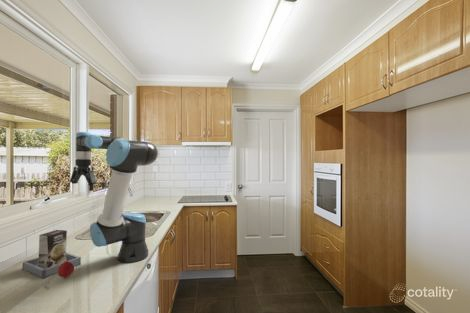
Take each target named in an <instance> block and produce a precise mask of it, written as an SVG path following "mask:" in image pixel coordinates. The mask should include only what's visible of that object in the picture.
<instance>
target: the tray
mask: <svg viewBox="0 0 470 313" xmlns="http://www.w3.org/2000/svg"><path fill="white" fill-rule="evenodd" d="M38 258H39V256H37V257H35V258H31V259H28V260H26V261H25V260H24V261H22V271H24V272H27V273H29V274H31V275H34V276H36V277H38V278H40V279H42V280H45V279H47V278H50V277H52V276H54V275H58V269H59V267H60V265H61V264H63V263H61V264H58V265H55V266H52V267H49V268H47V269H43V268H40V267H38ZM66 260H67V261H68V262H70V263H72V264H73V266H74V268H75V267H78V266H80V265H81V262H82V261H81V260H82V257H81V256H78V255H75V254H71V253H69V252H66Z"/></svg>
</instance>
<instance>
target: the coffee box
mask: <svg viewBox="0 0 470 313" xmlns="http://www.w3.org/2000/svg"><path fill="white" fill-rule="evenodd" d="M67 233H68V230H64V229H61V230H60V229H55V230H52V231H48V232H45V233H41V234H39V238H38V239H39V241H38V257H39V258H38V257H37V258H38V267H40V268H43V269H47V268H49V267H52V266H55V265H58V264H61V263H64V261H65V260H66V253H67V240H68V239H67V238H68V236H67V235H68V234H67Z"/></svg>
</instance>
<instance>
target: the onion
mask: <svg viewBox="0 0 470 313" xmlns="http://www.w3.org/2000/svg"><path fill="white" fill-rule="evenodd" d="M74 271H75V267H74V266H73V264H72V263H70V262H68V261H67V260H65V261H64V263H63V264H61V265H60V267H59V269H58V273H57V275H58V276H59V277H60V278H63V279H68V278H70V276H71V275H72V274H73V272H74Z"/></svg>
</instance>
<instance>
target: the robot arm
mask: <svg viewBox="0 0 470 313" xmlns="http://www.w3.org/2000/svg"><path fill="white" fill-rule="evenodd" d="M92 149H93V150H94V149H95V150H106V152H105V157H106V158H105V161H106V163H107V164H108V166H109V168H110V170H111V174H110V179H109V182H108V183H109V184H108V187H107V192H106V196H105V201H104V204H103V210H102V213H101V214H100V215H98V217H97V219H96V222H93V223H91V224H90V227H89V234H90V238H91V241H92V243H93V244H94V246H95V247H98V248H100V247H106V246H108V245H109V246H110V245H113V244H115V243H119V242H121V246H120V247H119V251H118V254H117V260H118V262H122V263H135V262H139V261H143V260H145V259H146V258H148V257H149V249H148V246H147V243H146V227H147V226H146V224H147V220H146V215H144V214H143V213H139V212H126V213H124V212H123V211H124V208H125V204H126V200H127V197H128V191H129V189H130V184H131V179H132V176H133V174H134V173H136V172H137V169H138V166H149V165H151V164H153V163H154V162H155V161H156V160H157V158H158V155H159V151H158V148H157V146H156V145H155V144H154V143H152V142H150V141H140V140H129V139H125V138H123V137H119V136H105V135H98V134H92V133H91V132H87V131H78V132H76V135H75V166H73V170H72V174H71V177H70V180H69V183H71V185H72V186H71V187H72V189H71V191H72V192H71V194H72V195H73V196H74V195H78V194H79V180H80V178H81V177H82V176H83V177H84V178H85V179H86V181H87V182H86V183H88V184H87V198H90V197H94V185H96V184H97V179H96V176H95V173H94V168H93V167H90V166H91V165H92V160H91V158H92Z"/></svg>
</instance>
